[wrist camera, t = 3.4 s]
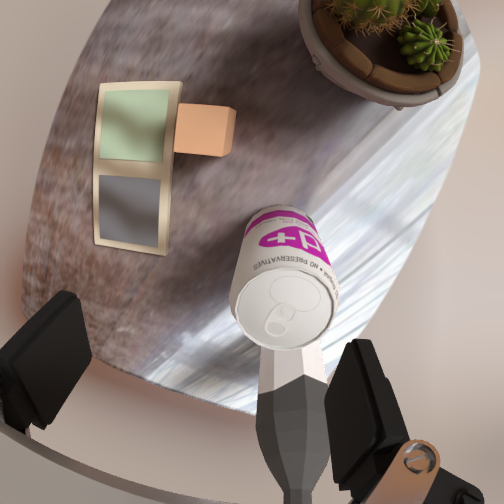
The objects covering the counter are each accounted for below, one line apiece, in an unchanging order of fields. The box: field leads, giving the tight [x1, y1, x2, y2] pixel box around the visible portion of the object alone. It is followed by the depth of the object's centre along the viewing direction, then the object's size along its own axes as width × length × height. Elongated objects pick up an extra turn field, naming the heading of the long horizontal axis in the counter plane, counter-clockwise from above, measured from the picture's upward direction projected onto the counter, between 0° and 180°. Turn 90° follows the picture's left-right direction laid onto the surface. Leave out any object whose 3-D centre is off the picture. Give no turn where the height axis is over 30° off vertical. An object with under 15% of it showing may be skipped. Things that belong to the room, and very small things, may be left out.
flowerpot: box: [298, 0, 464, 111], centre depth 16 cm, size 15×15×20 cm
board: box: [93, 81, 183, 256], centre depth 32 cm, size 20×10×1 cm, turn 172°
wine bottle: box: [256, 340, 330, 504], centre depth 26 cm, size 8×8×30 cm
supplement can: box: [229, 204, 340, 351], centre depth 27 cm, size 8×8×15 cm
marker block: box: [173, 103, 237, 157], centre depth 27 cm, size 4×4×6 cm
